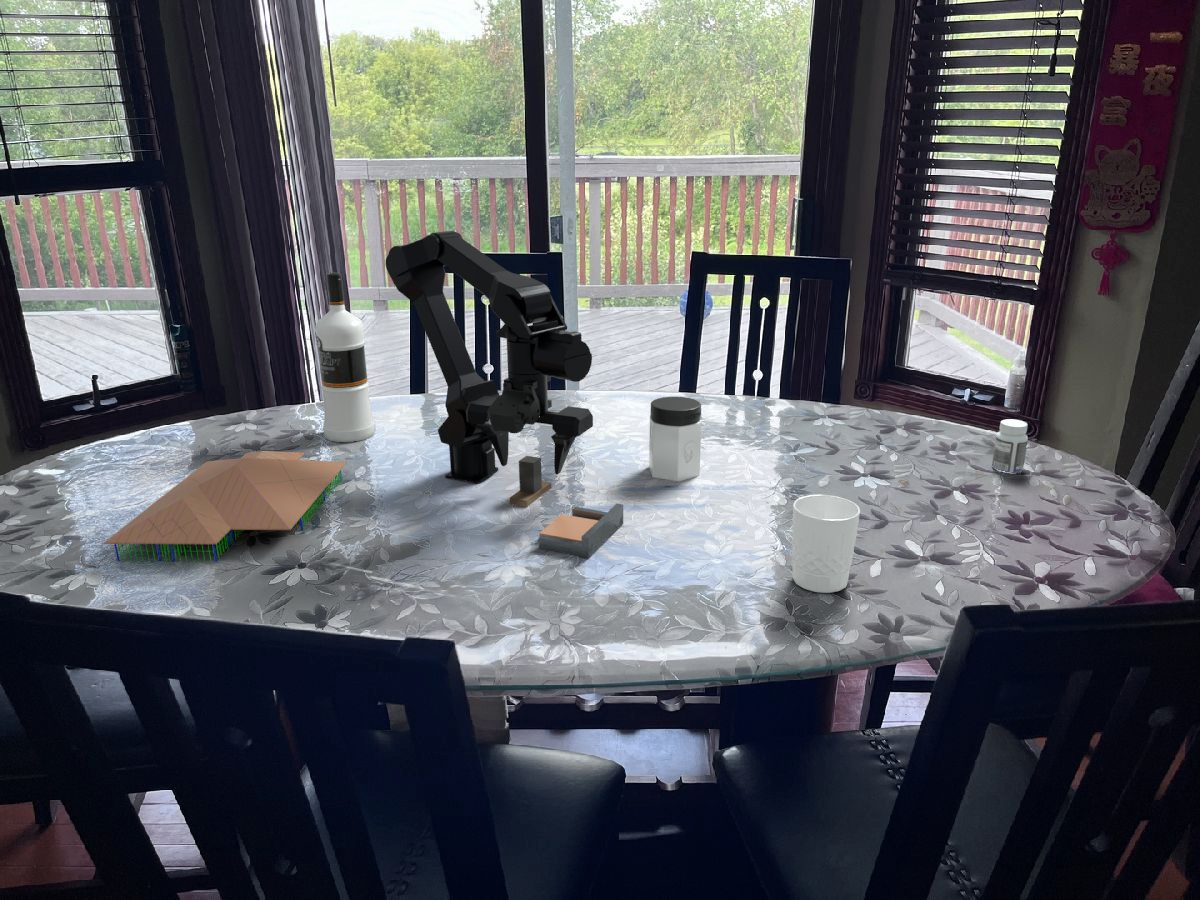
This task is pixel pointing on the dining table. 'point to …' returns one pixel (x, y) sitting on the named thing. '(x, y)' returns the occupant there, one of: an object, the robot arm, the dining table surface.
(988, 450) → the dining table surface
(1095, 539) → the dining table surface
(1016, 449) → the pill bottle
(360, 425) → the vodka
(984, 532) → the dining table surface
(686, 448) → the jar
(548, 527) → the tile
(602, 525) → the grey u-shaped frame
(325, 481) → the house
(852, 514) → the white cup
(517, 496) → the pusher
